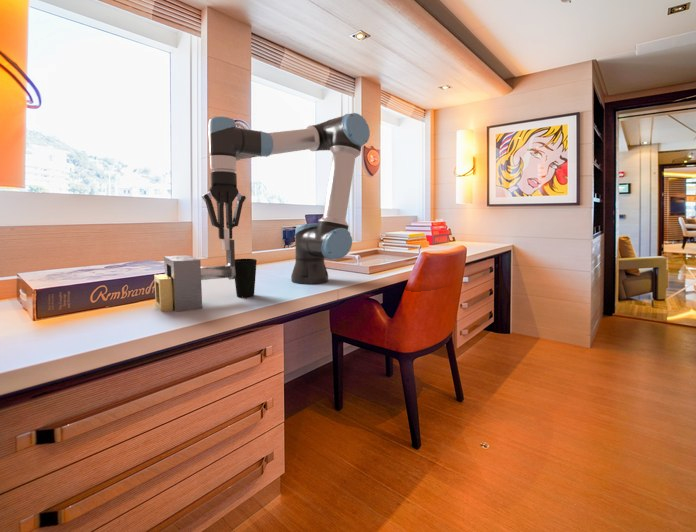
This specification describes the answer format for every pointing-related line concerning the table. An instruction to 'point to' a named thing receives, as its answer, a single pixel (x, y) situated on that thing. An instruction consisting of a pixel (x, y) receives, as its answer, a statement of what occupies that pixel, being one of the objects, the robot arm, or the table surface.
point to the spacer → (163, 292)
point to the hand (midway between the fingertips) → (225, 249)
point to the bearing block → (184, 281)
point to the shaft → (221, 267)
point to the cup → (245, 277)
